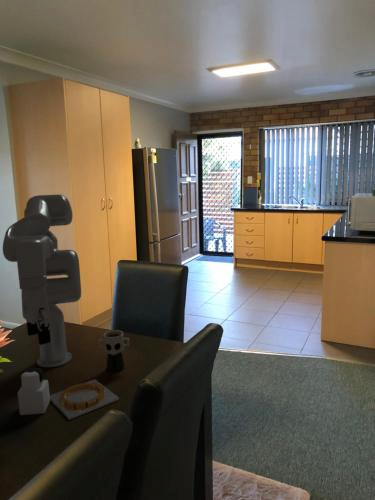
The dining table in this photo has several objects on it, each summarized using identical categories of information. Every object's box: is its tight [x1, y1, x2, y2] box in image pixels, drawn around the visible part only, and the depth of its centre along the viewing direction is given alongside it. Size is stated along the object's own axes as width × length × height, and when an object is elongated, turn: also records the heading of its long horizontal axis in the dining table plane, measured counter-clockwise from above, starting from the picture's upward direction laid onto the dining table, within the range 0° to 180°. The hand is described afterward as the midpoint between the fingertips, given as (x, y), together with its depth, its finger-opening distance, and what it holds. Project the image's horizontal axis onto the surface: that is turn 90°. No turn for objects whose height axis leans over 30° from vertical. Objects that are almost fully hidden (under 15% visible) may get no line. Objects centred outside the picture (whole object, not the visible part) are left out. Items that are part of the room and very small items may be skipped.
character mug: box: [97, 329, 130, 372], centre depth 147 cm, size 11×7×13 cm, turn 94°
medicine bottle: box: [16, 367, 51, 416], centre depth 123 cm, size 7×7×12 cm
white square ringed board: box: [50, 378, 120, 421], centre depth 128 cm, size 16×16×2 cm
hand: (39, 338), depth 121 cm, fingers open, 9 cm apart
